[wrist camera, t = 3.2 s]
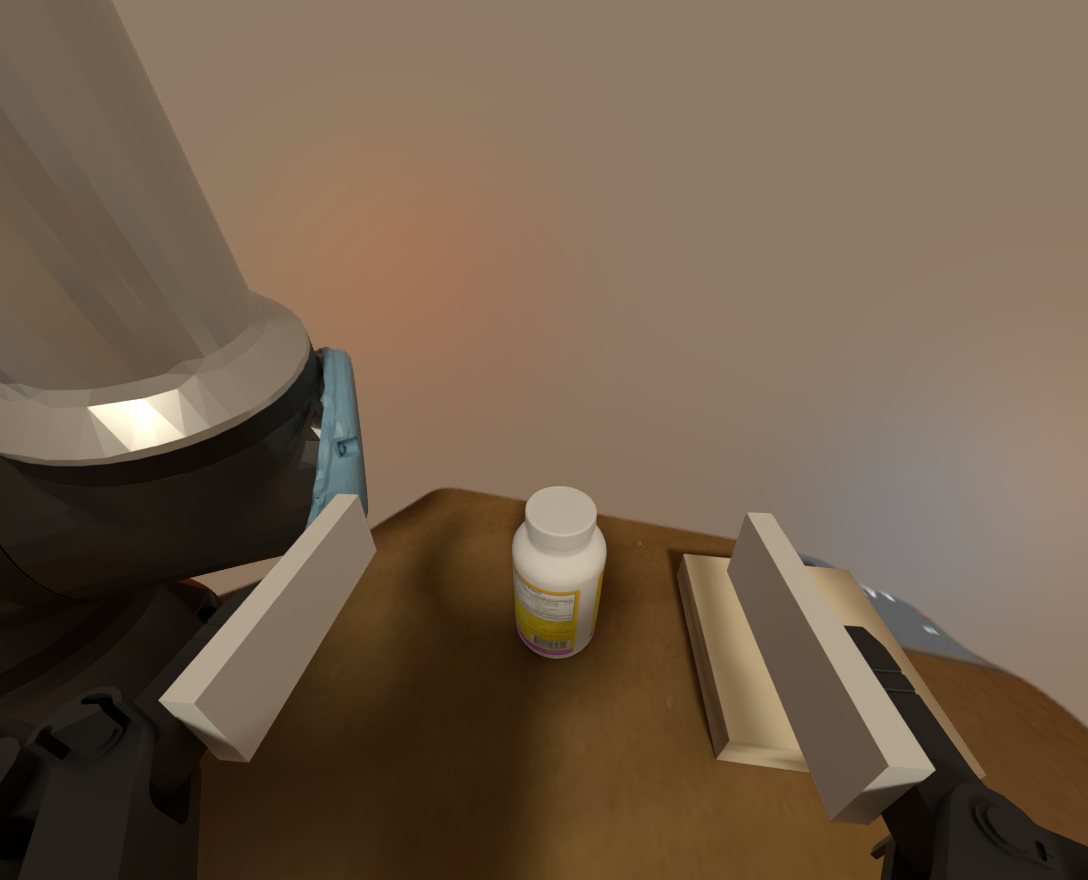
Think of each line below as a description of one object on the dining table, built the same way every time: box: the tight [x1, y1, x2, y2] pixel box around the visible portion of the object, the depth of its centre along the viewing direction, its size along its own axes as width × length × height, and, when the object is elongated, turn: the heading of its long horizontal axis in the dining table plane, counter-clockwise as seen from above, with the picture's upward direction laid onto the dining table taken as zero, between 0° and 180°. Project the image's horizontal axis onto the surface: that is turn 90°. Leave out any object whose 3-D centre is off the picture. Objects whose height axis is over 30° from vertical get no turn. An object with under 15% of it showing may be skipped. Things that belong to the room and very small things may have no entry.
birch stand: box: [677, 554, 986, 779], centre depth 29 cm, size 14×14×3 cm
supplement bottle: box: [512, 486, 607, 659], centre depth 28 cm, size 7×7×13 cm
